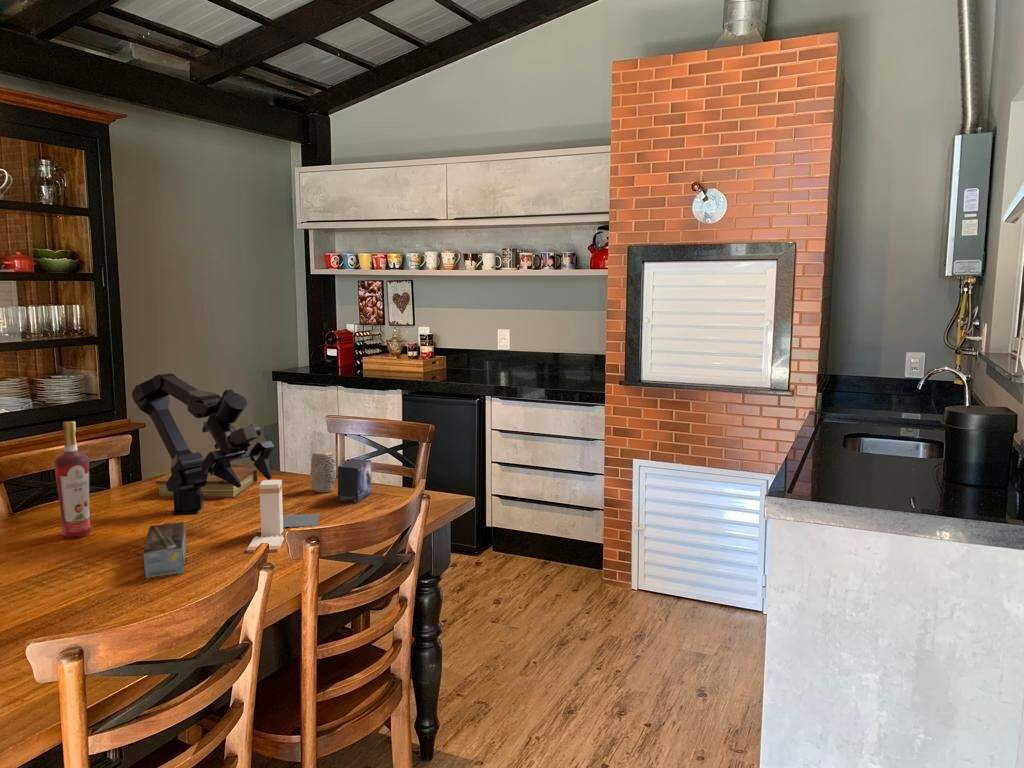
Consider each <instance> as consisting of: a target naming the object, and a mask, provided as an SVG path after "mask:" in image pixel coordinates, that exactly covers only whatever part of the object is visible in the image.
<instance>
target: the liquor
mask: <svg viewBox="0 0 1024 768" xmlns="http://www.w3.org/2000/svg"><path fill="white" fill-rule="evenodd" d="M76 427H77V425H76V421H74V420H73V421H63V422H62V430H63V434H64V439H63V440H64V443H63V454H62V455H60V456H58V457H57V458H56V459H54V461H53V463H54V464H53V465H54V473H55V481H56V483H55V484H56V488H57V495H58V502H59V511H60V519H61V529H60V531H59V532H60V534H61V535H62V536H64V537H65V538H67V539H79V538H82V537H86V536H87V535H88V534H89V533H90V532H91V531H92V530H93V526H92V525H91V517H90V516H91V514H90V513H91V510H90V458H89V456H87V455H85V454H83V453H79V448H78V443H77V438H76V431H77V430H76V429H77V428H76Z"/></svg>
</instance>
